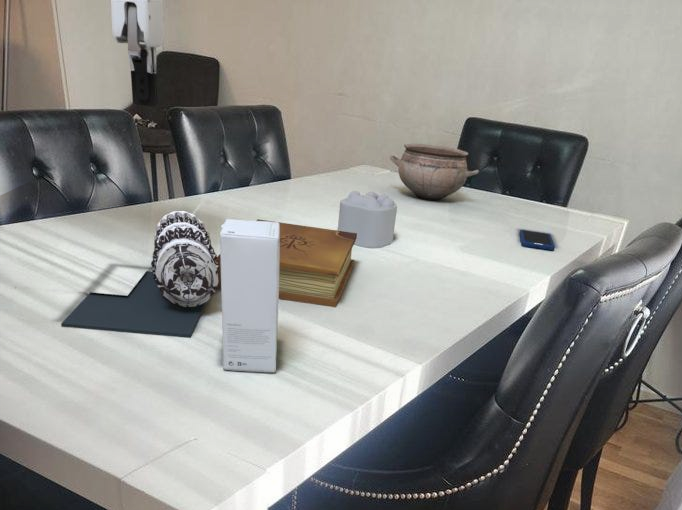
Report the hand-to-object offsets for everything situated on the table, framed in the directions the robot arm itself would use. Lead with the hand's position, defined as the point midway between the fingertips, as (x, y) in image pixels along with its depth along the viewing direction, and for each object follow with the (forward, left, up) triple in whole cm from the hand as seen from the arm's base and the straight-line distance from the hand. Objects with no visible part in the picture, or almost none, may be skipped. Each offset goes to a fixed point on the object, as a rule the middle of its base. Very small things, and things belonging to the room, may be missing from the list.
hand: (145, 104), depth 93 cm
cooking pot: (+56, +85, -23) cm, 104 cm away
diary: (+22, +1, -23) cm, 32 cm away
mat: (+2, -16, -23) cm, 28 cm away
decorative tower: (+4, +3, -19) cm, 19 cm away
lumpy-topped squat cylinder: (+36, +32, -23) cm, 53 cm away
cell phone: (+76, +45, -23) cm, 91 cm away
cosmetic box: (+18, -33, -23) cm, 44 cm away
